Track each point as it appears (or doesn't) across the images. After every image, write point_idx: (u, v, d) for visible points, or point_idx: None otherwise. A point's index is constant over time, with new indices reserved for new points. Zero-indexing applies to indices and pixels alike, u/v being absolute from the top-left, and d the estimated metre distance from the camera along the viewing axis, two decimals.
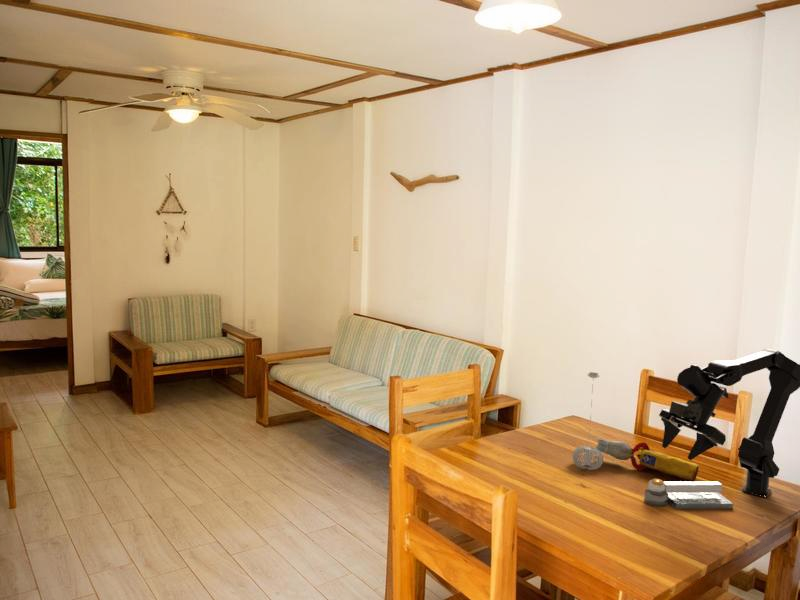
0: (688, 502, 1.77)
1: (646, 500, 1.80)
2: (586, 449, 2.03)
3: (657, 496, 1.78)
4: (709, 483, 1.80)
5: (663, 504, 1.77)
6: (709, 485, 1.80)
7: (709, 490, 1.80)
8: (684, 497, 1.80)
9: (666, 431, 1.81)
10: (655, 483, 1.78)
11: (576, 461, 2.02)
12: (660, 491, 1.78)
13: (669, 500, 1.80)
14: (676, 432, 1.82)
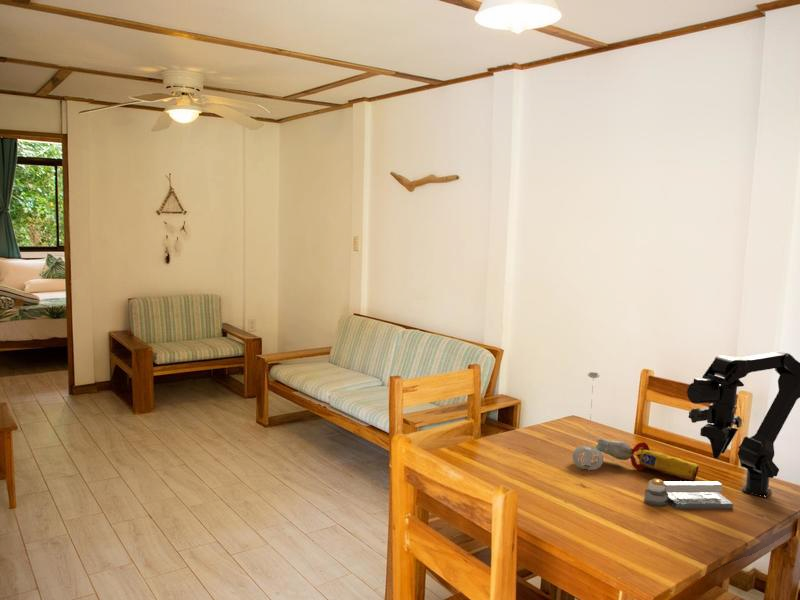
0: (688, 502, 1.77)
1: (646, 500, 1.80)
2: (586, 449, 2.03)
3: (657, 496, 1.78)
4: (709, 483, 1.80)
5: (663, 504, 1.77)
6: (709, 485, 1.80)
7: (709, 490, 1.80)
8: (684, 497, 1.80)
9: None
10: (655, 483, 1.78)
11: (576, 461, 2.02)
12: (660, 491, 1.78)
13: (669, 500, 1.80)
14: (730, 435, 1.84)
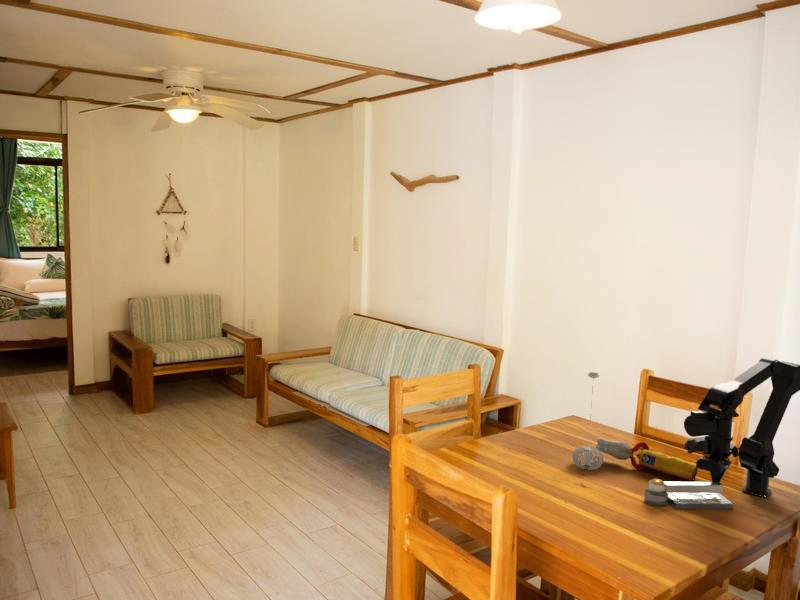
0: (688, 502, 1.77)
1: (646, 500, 1.80)
2: (586, 449, 2.03)
3: (657, 496, 1.78)
4: (710, 484, 1.80)
5: (663, 504, 1.77)
6: (710, 486, 1.79)
7: (709, 490, 1.80)
8: (684, 497, 1.80)
9: None
10: (655, 483, 1.78)
11: (576, 461, 2.02)
12: (660, 491, 1.78)
13: (669, 500, 1.80)
14: None
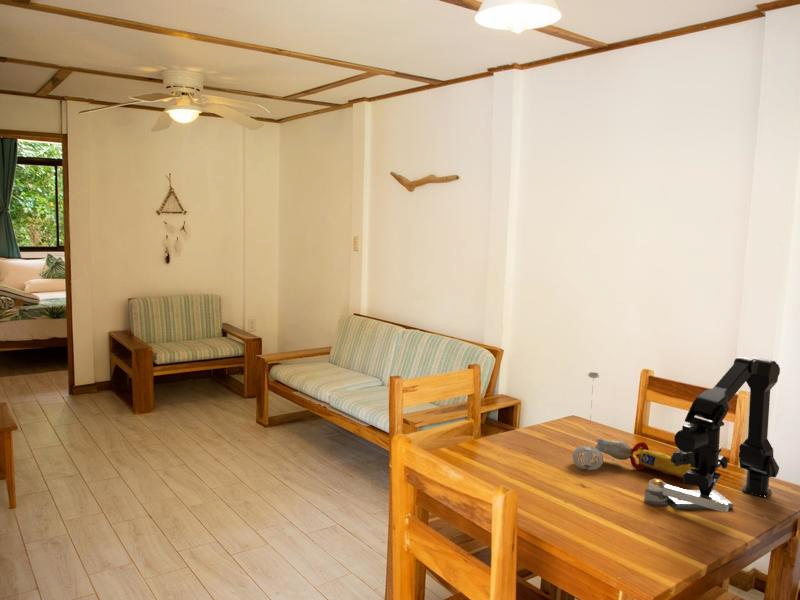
0: (688, 502, 1.77)
1: (646, 500, 1.80)
2: (586, 449, 2.03)
3: (657, 496, 1.78)
4: (714, 500, 1.70)
5: (663, 504, 1.77)
6: (712, 501, 1.69)
7: (711, 506, 1.70)
8: None
9: None
10: (652, 481, 1.79)
11: (576, 461, 2.02)
12: (653, 490, 1.78)
13: (669, 500, 1.80)
14: None
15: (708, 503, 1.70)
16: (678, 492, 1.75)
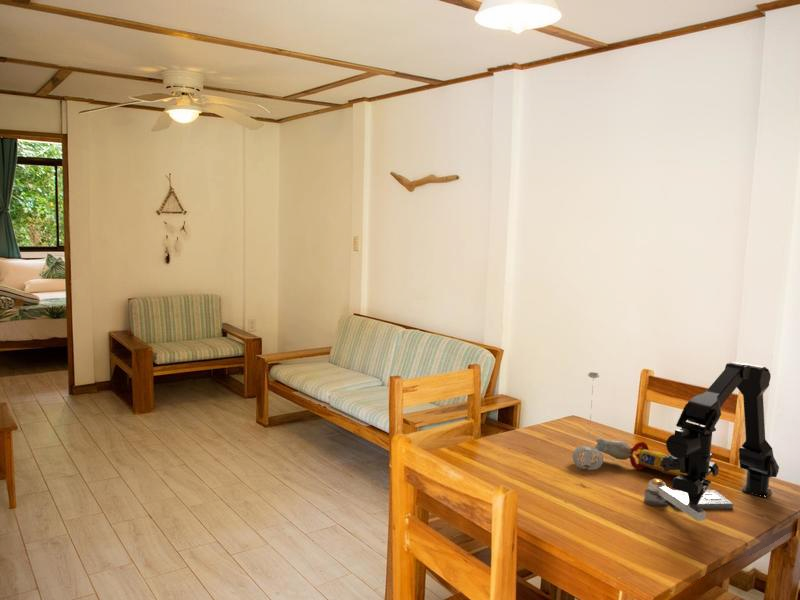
0: None
1: (646, 500, 1.80)
2: (586, 449, 2.03)
3: (657, 496, 1.78)
4: (692, 506, 1.65)
5: (663, 504, 1.77)
6: (688, 507, 1.65)
7: (688, 512, 1.66)
8: (684, 497, 1.80)
9: None
10: (651, 480, 1.80)
11: (576, 461, 2.02)
12: (649, 488, 1.79)
13: None
14: None
15: (686, 508, 1.66)
16: (667, 494, 1.74)
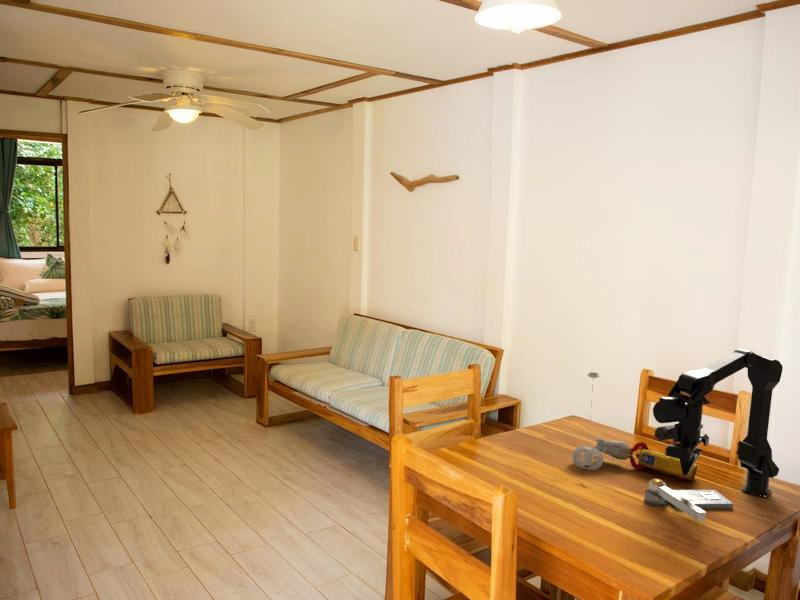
0: None
1: (646, 500, 1.80)
2: (586, 449, 2.03)
3: (657, 496, 1.78)
4: (692, 506, 1.65)
5: (663, 504, 1.77)
6: (688, 507, 1.65)
7: (688, 512, 1.66)
8: (684, 497, 1.80)
9: None
10: (651, 480, 1.80)
11: (576, 461, 2.02)
12: (649, 488, 1.79)
13: None
14: None
15: (686, 508, 1.66)
16: (667, 494, 1.74)
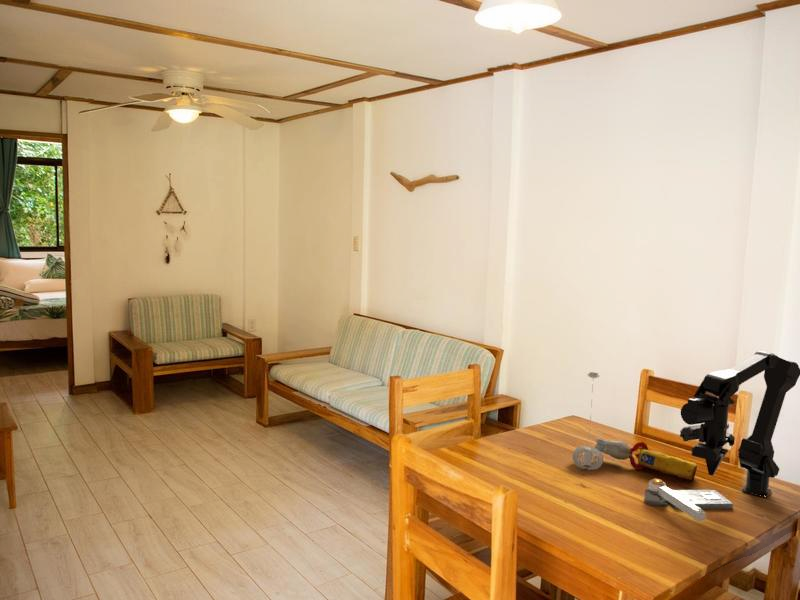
0: None
1: (646, 500, 1.80)
2: (586, 449, 2.03)
3: (657, 496, 1.78)
4: (692, 506, 1.65)
5: (663, 504, 1.77)
6: (688, 507, 1.65)
7: (688, 512, 1.66)
8: (684, 497, 1.80)
9: None
10: (651, 480, 1.80)
11: (576, 461, 2.02)
12: (649, 488, 1.79)
13: None
14: None
15: (686, 508, 1.66)
16: (667, 494, 1.74)
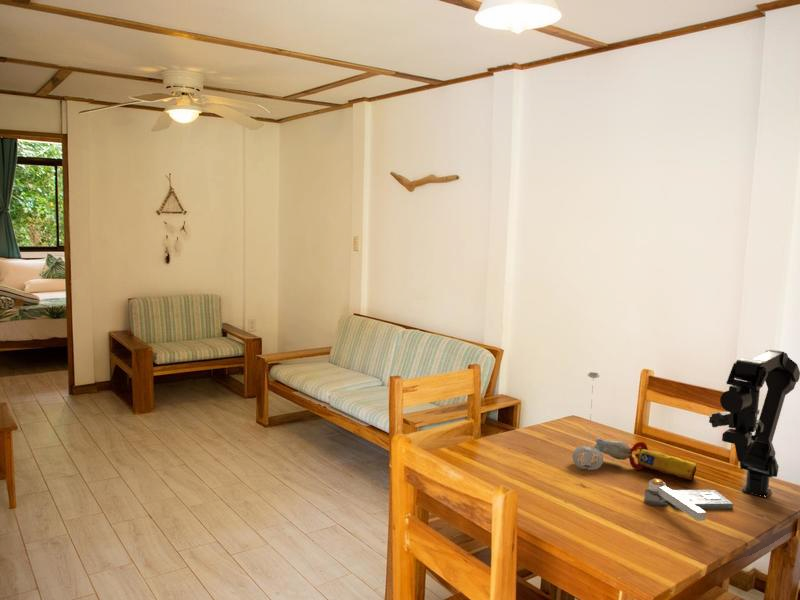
0: None
1: (646, 500, 1.80)
2: (586, 449, 2.03)
3: (657, 496, 1.78)
4: (692, 506, 1.65)
5: (663, 504, 1.77)
6: (688, 507, 1.65)
7: (688, 512, 1.66)
8: (684, 497, 1.80)
9: None
10: (651, 480, 1.80)
11: (576, 461, 2.02)
12: (649, 488, 1.79)
13: None
14: None
15: (686, 508, 1.66)
16: (667, 494, 1.74)
